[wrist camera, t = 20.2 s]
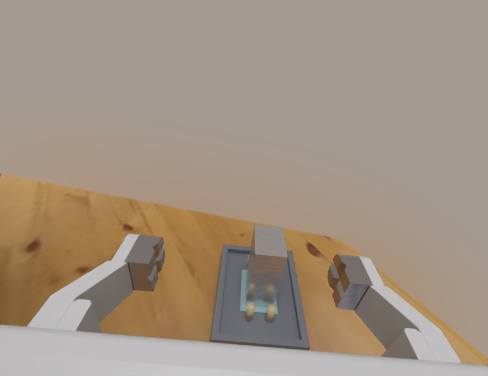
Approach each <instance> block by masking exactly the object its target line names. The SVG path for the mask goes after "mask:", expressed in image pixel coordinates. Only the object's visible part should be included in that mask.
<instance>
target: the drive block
mask: <svg viewBox="0 0 488 376" xmlns="http://www.w3.org/2000/svg"><path fill="white" fill-rule="evenodd" d="M287 258H288V255H287V249H286V243H285V237H284V230H283V228H281V227H271V226H262V225H255V226H254V231H253V237H252V242H251V248H250V254H249V259H248V265H247V271H246V288H245V305H248V303H250V302H252V303H254V304H255V306H258V307H269V305H270V304H273V305H274V301H275V298H276V295H277V291H278V288H279V285H280V282H281V278H282V275H283V272H284V268H285V265H286V262H287Z"/></svg>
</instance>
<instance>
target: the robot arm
mask: <svg viewBox="0 0 488 376" xmlns="http://www.w3.org/2000/svg"><path fill="white" fill-rule="evenodd" d="M163 244H164V241H163V238H162V237H155V236H147V235H138V234H128V235H127V236H126V238H125V239H124V241H123V243H122V244H121V246H120V247H119V249H118V251H117V252H116V254H115V255H114V257H113V259H112V260H111V261H106V262H105V263H103V264H101V265H100V266H98V267H97V268H95V269H93V270H92V271H90V272H88V273H87V274H85V275H83V276H82V277H80V278H79V279H77V280H75V281H74V282H72V283H70V284H69V285H67V286H65V287H64V288H62V289H61V290H59V291H57V292H56V293H54V294H52V295H51V296H50V297H49V299H48V300H47V301H46V302H45V304H44V305H43V306H42V308H41V309H40V310H39V312H38V313H37V314H36V315H35V317H34V318H33V319H32V321H31V322H30V323H29V325H28V326H27V327H25V326H13V325H1V324H0V376H488V365H476V364H464V363H461V361H460V360H459V358H458V356H457V355H456V353H455V352H454V350H453V349H452V347H451V345H450V344H449V342H448V341H447V339H446V337H445V336H444V334H443V333H442V331H441V330H440V329H439V328H437V327H436V326H435V325H434V324H433V323H431V322H430V321H429V320H428V319H426V318H425V317H424V316H423V315H422V314H420V313H419V312H418V311H417V310H416V309H414V308H413V307H412V306H411V305H409V304H408V303H407V302H406V301H405V300H403V299H402V298H401V297H400V296H398V295H397V294H396V293H395V292H394V291H392V290H391V289H390V288H389V287H385V285H384V284H383V282H382V280H381V278H380V276H379V274H378V272H377V270H376V268H375V267H374V265H373V263H372V261H371V259H370V258H369V257H360V256H349V255H338V254H337V255H335V256H334V258H333V262H334V264H333V265H331V266H330V268H329V270H328V282H329V286H330V287H331V288H332V289H333V290H334V292H333V294H332V295H333V299H334V302H335V305H336V308H340V309H348V310H355V312H356V314H357V315H358V316H359V317H360V318H361V319H362V321H363V322H364V323H365V324H366V325H367V327H368V328H369V329H370V330H371V331H372V333H373V334H374V335H375V336H376V337H377V339H378V340H379V341H380V342H381V343H382V345H383V346H384V347H385V348H386V349H387V350H386V351H385V352H384V354H383V355H382V356H369V355H357V354H345V353H333V352H321V351H309V350H297V349H286V348H274V347H262V346H250V345H238V344H226V343H214V342H202V341H190V340H178V339H166V338H154V337H142V336H131V335H119V334H107V333H103V332H102V330H101V327H100V324H99V322H100V321H101V320H103V319H104V318H105V317H106V316H107V315H108V314H109V313H110V312H111V311H112V310H114V309H115V308H116V307H117V306H118V305H119V304H120V303H121V302H122V301H123V300H125V299H126V298H127V297H128V296H129V295H130V294H131V293H132V292H133V290H138V291H153V290H154V288H155V285H156V282H157V280H158V274H157V273H158V272H160V271H161V269H162V267H163V263H164V258H165V251H164V249H163V248H162V246H163Z"/></svg>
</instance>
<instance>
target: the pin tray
mask: <svg viewBox="0 0 488 376" xmlns="http://www.w3.org/2000/svg"><path fill="white" fill-rule="evenodd" d="M250 248H251V247H243V246H233V245H223V251H222V259H221V267H220V274H219V282H218V289H217V297H216V304H215V312H214V319H213V327H212V335H211V342H214V343H226V344H238V345H250V346H262V347H274V348H286V349H297V350H309V349H310V345H309V340H308V335H307V329H306V324H305V318H304V313H303V308H302V302H301V297H300V291H299V286H298V280H297V275H296V270H295V264H294V259H293V253H292V251H287V255H288V258H287V262H286V265H285V268H284V272H283V275H282V278H281V282H280V285H279V288H278V291H277V295H276V298H275V301H274V305H273V304H270V305H269V307H258V306H255V304H254V303H252V302H250V303H248V305H245V288H246V271H247V265H248V259H249V254H250Z"/></svg>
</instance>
